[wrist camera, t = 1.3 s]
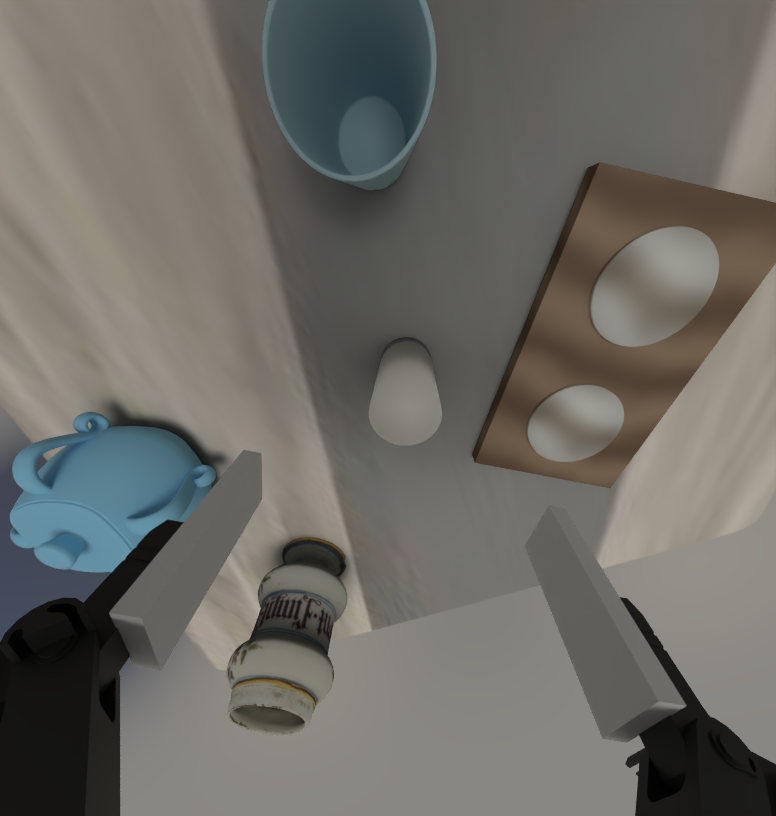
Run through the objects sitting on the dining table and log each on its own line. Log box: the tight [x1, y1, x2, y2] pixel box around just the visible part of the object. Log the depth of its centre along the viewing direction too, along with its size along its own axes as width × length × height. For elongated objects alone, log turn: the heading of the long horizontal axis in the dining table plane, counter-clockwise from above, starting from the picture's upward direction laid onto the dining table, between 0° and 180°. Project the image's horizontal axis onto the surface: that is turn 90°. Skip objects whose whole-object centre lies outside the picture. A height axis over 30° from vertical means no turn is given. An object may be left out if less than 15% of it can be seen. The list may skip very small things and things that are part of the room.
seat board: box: [472, 163, 776, 488], centre depth 28 cm, size 27×16×2 cm, turn 169°
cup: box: [262, 0, 437, 191], centre depth 18 cm, size 8×8×10 cm
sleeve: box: [369, 337, 442, 446], centre depth 25 cm, size 5×5×11 cm
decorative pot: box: [10, 412, 216, 573], centre depth 32 cm, size 16×16×14 cm
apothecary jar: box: [227, 538, 347, 735], centre depth 38 cm, size 12×12×18 cm
